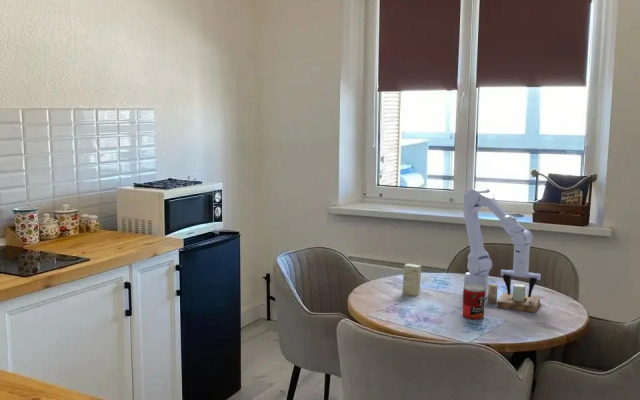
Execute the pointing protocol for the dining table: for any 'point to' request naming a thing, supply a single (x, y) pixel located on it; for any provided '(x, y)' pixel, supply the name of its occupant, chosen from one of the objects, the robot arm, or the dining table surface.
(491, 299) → the birch dowel
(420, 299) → the dining table surface
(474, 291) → the canned food
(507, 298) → the socket block
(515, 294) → the square peg
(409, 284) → the skincare box
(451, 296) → the dining table surface
